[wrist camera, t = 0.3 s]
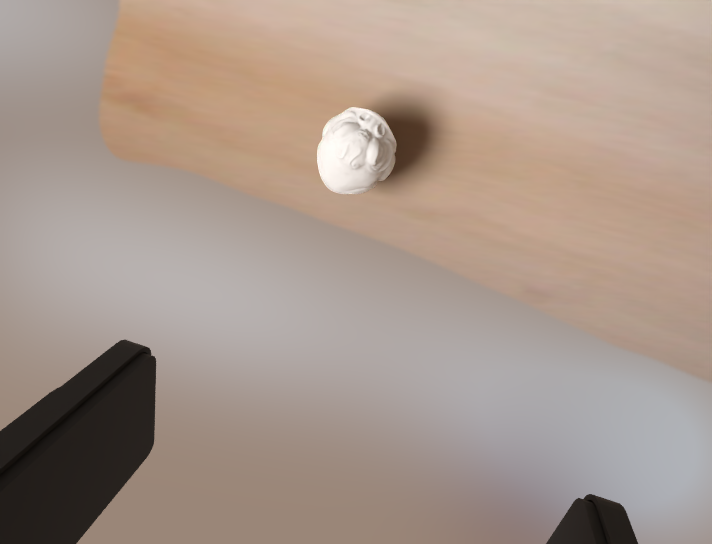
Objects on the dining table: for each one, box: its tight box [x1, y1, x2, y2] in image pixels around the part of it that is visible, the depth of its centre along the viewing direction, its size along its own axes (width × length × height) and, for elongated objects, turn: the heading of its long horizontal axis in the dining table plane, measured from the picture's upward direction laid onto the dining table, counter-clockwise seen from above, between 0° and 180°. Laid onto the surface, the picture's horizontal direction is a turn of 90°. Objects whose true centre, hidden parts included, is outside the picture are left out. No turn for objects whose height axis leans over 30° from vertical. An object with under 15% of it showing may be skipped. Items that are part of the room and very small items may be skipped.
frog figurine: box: [317, 107, 397, 194], centre depth 34 cm, size 6×7×7 cm
